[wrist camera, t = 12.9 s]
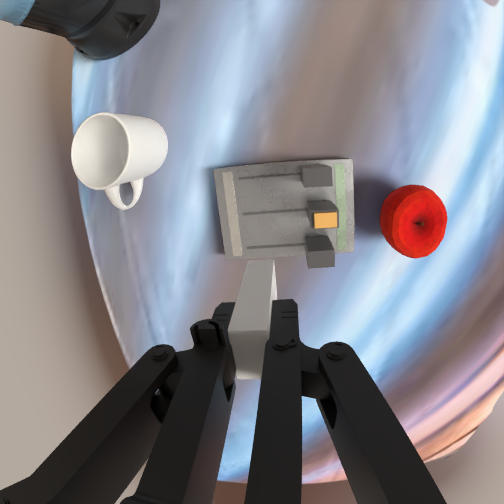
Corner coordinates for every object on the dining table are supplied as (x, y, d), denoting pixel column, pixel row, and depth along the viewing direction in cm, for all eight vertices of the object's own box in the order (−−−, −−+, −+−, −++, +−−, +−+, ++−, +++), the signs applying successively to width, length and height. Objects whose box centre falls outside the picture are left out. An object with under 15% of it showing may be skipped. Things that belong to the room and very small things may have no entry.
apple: (432, 223, 34) (459, 241, 27) (384, 252, 37) (404, 276, 29) (411, 168, 32) (439, 174, 25) (359, 197, 34) (377, 210, 27)
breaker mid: (307, 201, 33) (311, 211, 28) (331, 200, 33) (339, 210, 28) (308, 217, 34) (312, 230, 29) (331, 216, 34) (339, 228, 29)
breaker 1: (299, 165, 32) (302, 168, 27) (324, 164, 31) (331, 167, 27) (301, 181, 32) (304, 187, 28) (325, 180, 32) (332, 186, 27)
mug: (122, 201, 38) (78, 221, 28) (116, 123, 34) (69, 121, 24) (173, 199, 37) (136, 218, 27) (169, 113, 33) (129, 105, 23)
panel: (217, 168, 35) (213, 169, 33) (348, 158, 33) (352, 159, 31) (228, 254, 39) (225, 260, 37) (350, 246, 37) (354, 252, 35)
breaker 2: (304, 237, 35) (307, 251, 30) (328, 235, 35) (334, 249, 30) (305, 252, 36) (308, 268, 31) (328, 250, 35) (334, 266, 31)
